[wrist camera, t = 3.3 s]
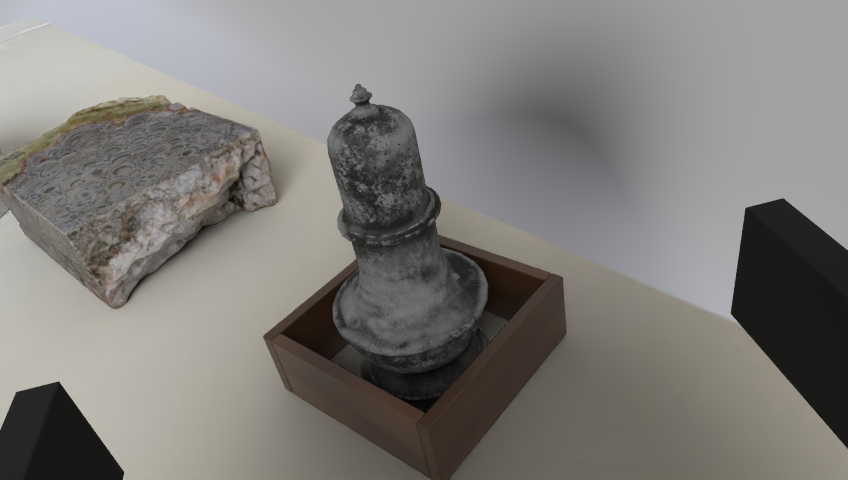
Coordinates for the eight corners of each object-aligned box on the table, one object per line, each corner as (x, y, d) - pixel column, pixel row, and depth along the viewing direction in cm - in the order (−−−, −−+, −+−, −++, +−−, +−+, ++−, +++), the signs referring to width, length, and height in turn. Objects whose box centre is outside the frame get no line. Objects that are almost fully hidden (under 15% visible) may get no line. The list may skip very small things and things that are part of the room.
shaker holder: (567, 333, 27) (563, 276, 25) (442, 487, 22) (428, 430, 20) (413, 272, 32) (401, 221, 30) (285, 388, 27) (262, 336, 25)
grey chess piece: (326, 394, 26) (220, 122, 19) (400, 299, 30) (334, 43, 23) (457, 440, 24) (390, 142, 17) (521, 328, 27) (487, 48, 20)
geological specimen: (74, 240, 29) (-43, 154, 38) (133, 334, 33) (14, 236, 42) (262, 126, 35) (123, 73, 44) (294, 218, 39) (160, 152, 47)
